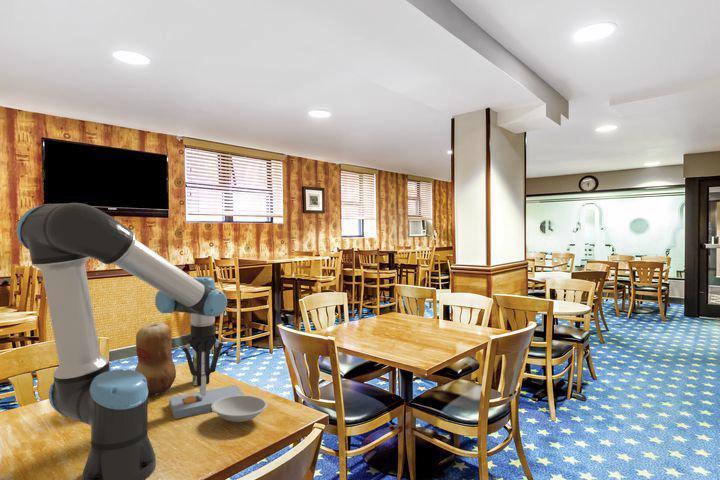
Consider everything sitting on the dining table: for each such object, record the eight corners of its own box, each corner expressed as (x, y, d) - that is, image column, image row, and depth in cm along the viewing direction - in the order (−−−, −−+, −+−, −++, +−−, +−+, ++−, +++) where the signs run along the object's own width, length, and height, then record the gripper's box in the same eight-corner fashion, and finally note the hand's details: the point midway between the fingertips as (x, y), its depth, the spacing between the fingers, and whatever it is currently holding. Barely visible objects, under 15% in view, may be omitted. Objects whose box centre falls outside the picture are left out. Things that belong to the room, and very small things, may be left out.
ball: (197, 409, 133) (197, 396, 133) (184, 411, 131) (184, 399, 131) (194, 404, 137) (195, 392, 137) (182, 406, 135) (182, 394, 135)
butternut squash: (124, 398, 141) (123, 326, 141) (154, 384, 154) (153, 318, 154) (156, 403, 137) (156, 329, 137) (184, 389, 150) (184, 321, 150)
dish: (277, 415, 129) (277, 399, 129) (250, 436, 116) (250, 419, 115) (230, 407, 135) (230, 392, 135) (199, 426, 122) (199, 409, 121)
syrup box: (192, 381, 158) (192, 343, 158) (208, 378, 161) (208, 342, 160) (193, 386, 153) (192, 347, 153) (209, 383, 155) (209, 345, 155)
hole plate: (245, 403, 138) (245, 396, 138) (174, 419, 126) (174, 411, 126) (235, 391, 148) (235, 384, 148) (169, 405, 136) (169, 397, 136)
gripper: (220, 319, 142) (220, 386, 143) (179, 323, 135) (180, 394, 136) (225, 323, 136) (225, 394, 136) (183, 328, 129) (183, 402, 129)
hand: (203, 394), depth 136 cm, fingers closed
